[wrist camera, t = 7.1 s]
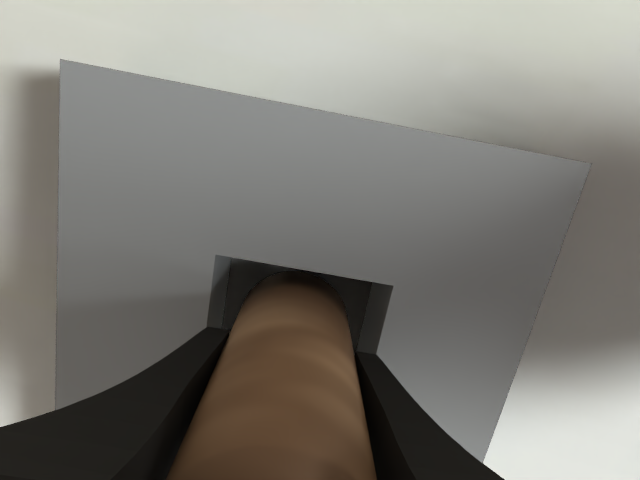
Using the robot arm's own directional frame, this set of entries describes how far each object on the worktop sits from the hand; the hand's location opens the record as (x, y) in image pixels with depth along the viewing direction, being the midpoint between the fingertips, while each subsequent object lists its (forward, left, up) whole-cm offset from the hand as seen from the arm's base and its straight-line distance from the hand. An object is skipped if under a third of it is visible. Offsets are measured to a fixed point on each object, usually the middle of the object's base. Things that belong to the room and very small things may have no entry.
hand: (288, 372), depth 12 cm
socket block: (0, 0, -4) cm, 4 cm away
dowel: (0, 0, -3) cm, 3 cm away
